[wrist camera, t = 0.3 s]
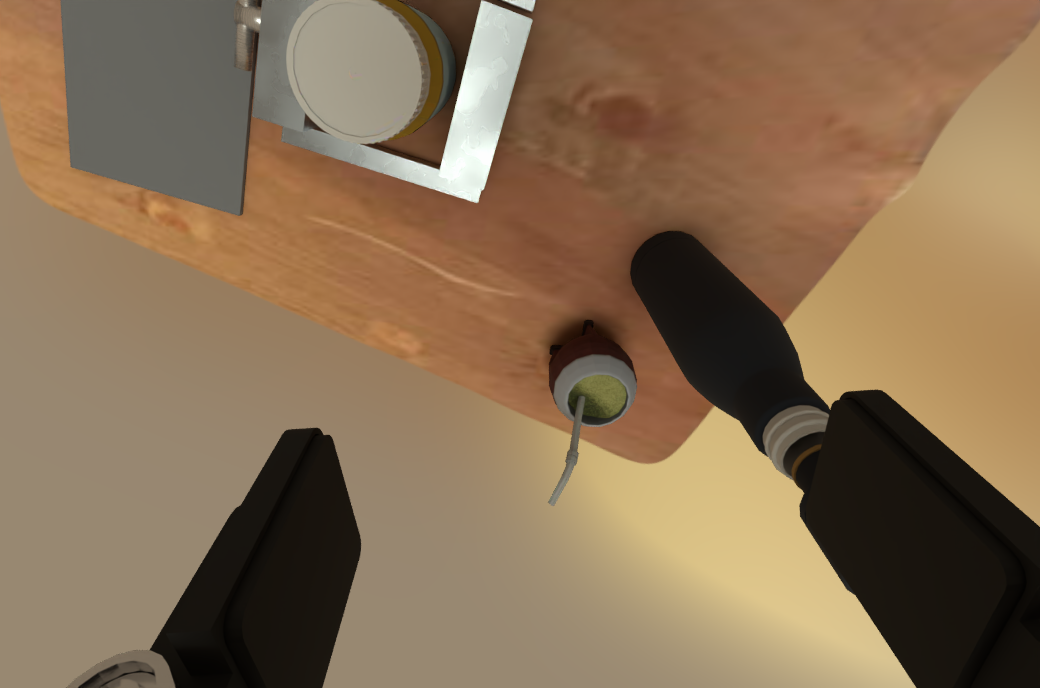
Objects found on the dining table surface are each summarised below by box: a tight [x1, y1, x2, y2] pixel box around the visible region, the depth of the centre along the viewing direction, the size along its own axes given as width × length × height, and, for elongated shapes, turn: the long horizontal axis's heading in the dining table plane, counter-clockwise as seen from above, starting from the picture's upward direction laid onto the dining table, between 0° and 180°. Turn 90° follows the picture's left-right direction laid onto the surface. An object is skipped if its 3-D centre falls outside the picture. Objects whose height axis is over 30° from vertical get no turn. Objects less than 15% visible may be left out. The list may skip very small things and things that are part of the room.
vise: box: [234, 0, 536, 203], centre depth 34 cm, size 14×17×7 cm
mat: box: [61, 0, 261, 216], centre depth 37 cm, size 16×12×1 cm
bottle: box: [286, 0, 456, 144], centre depth 31 cm, size 7×7×15 cm
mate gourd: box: [549, 320, 637, 506], centre depth 42 cm, size 8×8×15 cm
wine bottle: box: [630, 231, 855, 595], centre depth 32 cm, size 6×6×30 cm
